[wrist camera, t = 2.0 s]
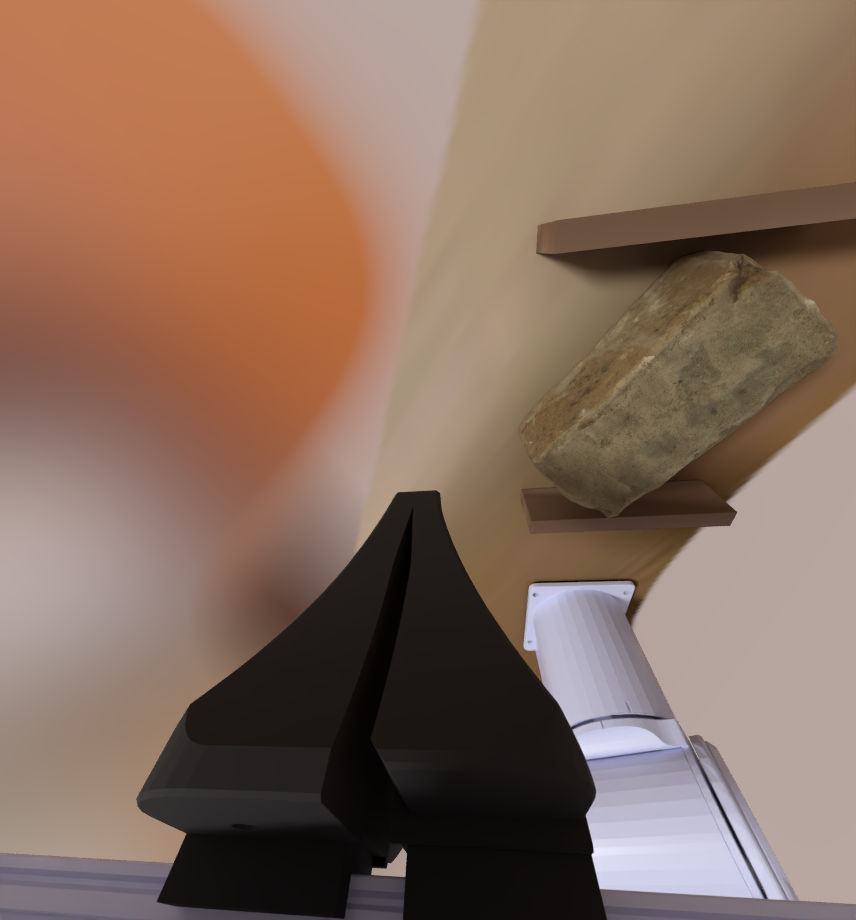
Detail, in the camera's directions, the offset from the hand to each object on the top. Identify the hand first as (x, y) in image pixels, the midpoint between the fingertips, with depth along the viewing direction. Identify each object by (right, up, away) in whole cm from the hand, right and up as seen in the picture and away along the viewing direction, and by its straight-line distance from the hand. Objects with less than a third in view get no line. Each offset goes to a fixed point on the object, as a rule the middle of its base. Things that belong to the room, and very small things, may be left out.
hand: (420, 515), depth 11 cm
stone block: (+10, +6, +7) cm, 14 cm away
